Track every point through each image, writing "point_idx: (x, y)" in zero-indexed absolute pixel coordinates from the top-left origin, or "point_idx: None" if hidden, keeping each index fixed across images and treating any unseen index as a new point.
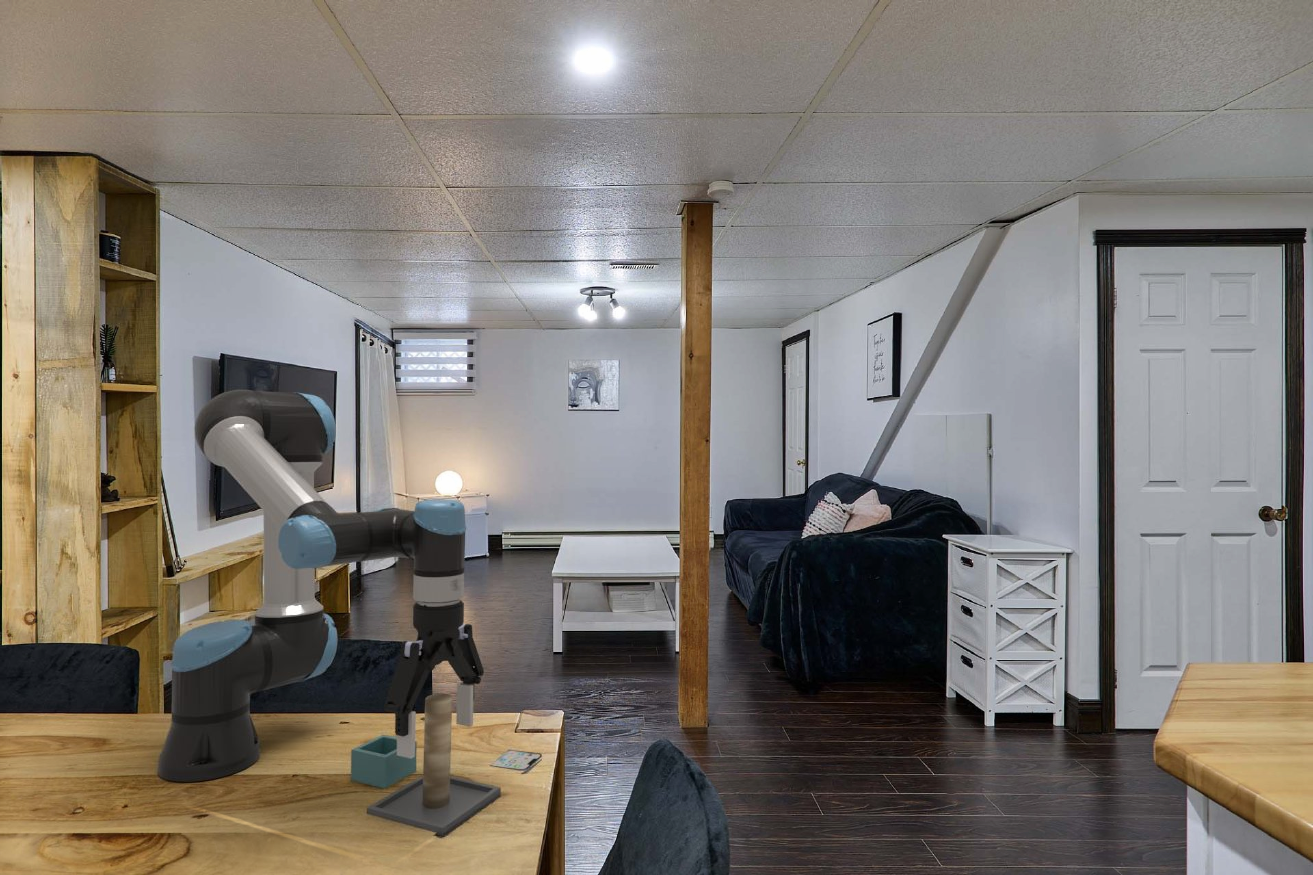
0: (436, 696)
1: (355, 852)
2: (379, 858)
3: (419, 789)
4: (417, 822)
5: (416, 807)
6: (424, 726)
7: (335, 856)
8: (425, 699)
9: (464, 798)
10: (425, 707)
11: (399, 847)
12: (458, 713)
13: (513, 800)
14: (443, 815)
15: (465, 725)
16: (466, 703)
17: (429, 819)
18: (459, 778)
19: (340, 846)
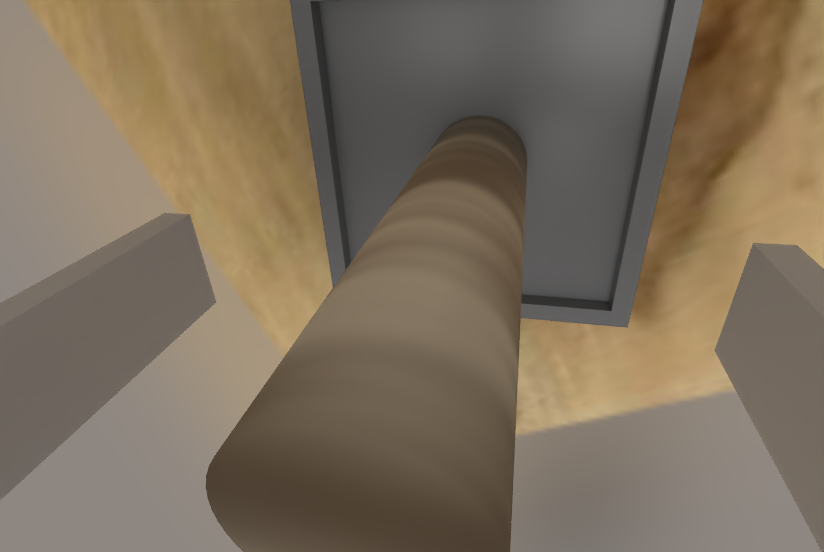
0: (372, 509)
1: (172, 128)
2: (199, 206)
3: (549, 20)
4: (324, 218)
5: (418, 125)
6: (351, 267)
7: (128, 93)
8: (224, 449)
9: (542, 235)
10: (258, 394)
11: (256, 217)
12: (786, 310)
13: (609, 351)
14: None
15: (729, 319)
16: (806, 462)
17: (378, 217)
18: (662, 152)
19: (158, 60)
